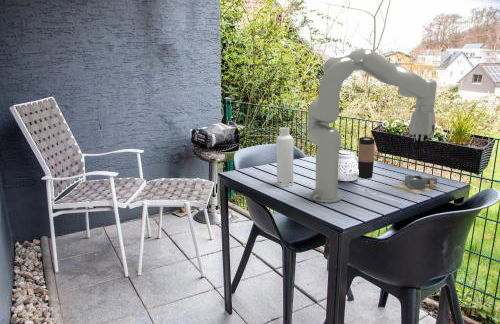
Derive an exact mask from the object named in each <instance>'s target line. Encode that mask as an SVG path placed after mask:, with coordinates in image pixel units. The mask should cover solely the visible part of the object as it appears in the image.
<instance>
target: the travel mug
mask: <svg viewBox="0 0 500 324" xmlns="http://www.w3.org/2000/svg"><path fill="white" fill-rule="evenodd" d="M375 141H376V139H375V138H372V137H369V136H364V137H359V138H358V151H357V152H358V153H357V155H358V156H357V157H358V158H357V166H358V167H357V170H358V169H359V177H358V179H359V178H360V179H372V178H373V177H374V176H373V174H374V164H375V163H374V162H375Z"/></svg>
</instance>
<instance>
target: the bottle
mask: <svg viewBox="0 0 500 324" xmlns="http://www.w3.org/2000/svg"><path fill="white" fill-rule="evenodd" d="M290 129H291V128H290V127H288V126H287V127H283V126H282V127H279V131H280V133H279V134H278V136H277V137H276V138H275V139H276V141H275V142H276V143H275V144H276V185H277V184H278V185H280V186H279V187H281V186H290V187H292V186H291V185H293V186H294V138H293V136H292V135H291V134H290ZM279 182H281V183H279ZM290 182H291V183H290ZM278 185H277V186H278Z"/></svg>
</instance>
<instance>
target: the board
mask: <svg viewBox="0 0 500 324" xmlns="http://www.w3.org/2000/svg"><path fill="white" fill-rule="evenodd" d="M429 186H430V185H429V184H426V186H425V189H409V188H407V187H406V186H405V182H403V183H400V184H397V185H394V186H393V185H392V186H390V188H392V189H395V190H399V191H402V192H406V193H409V194H413V195H418V194H422V193H426V192H429V191H431V190H435V189H436V187H434V186H433V189H430V188H429Z"/></svg>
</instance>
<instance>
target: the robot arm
mask: <svg viewBox="0 0 500 324" xmlns="http://www.w3.org/2000/svg"><path fill="white" fill-rule="evenodd" d="M322 71H323V72H324V73H323V76H322V77H321V79H320V82H319V86H318V97H317V98H316V99H314V100H313V101H312V102H311V103H310V105H309V107H308V111H307V137H308V140H309V141H310V142H311V143H312V144H314V145H316V146H317V149H316V154H315V188H313V191H312V192H308V193H306V196H307V198H309V199H310V198H312V201H313V200H314V201H315V202H318V203H323V202H325V203H324V204H331V203H332V202H333V203H337V202H339V201H341V200H342V195H341V194H340V193H339V191H338V190H339V158H340V157H339V155H340V148H341V144H342V136H341V133H340V132H339V131H338V129H337V128H335V127H333V126H330V125H329V124H334V123H335V122H336V121H337V120H338V118H339V117H340V96H341V95H340V93H341V88H342V85H343V83H344V82H345V81H346V80H347V79H348V78H349V77H351V75H352V74H353V73H354V72H355V71H362V72H364V73H366V74H367V75H369V76H371V77H373V78H374V79H376V80H377V81H379V83H383V84H384V85H385V84H386V85H389V86H394V87H397V91H398V93H399V94H400V96H403V97H405V98H414V99H416V100H415V104H414V105H413V108H414V110H413V111H412V114H411V117H410V121H409V130H408V131H409V133H410V135H411V136H414V138H415V140H416V150H421V151H423V150H424V148H425V146H426V145H425V144H426V141H427V140H428V139H432V138H434V134H435V132H436V131H435V130H436V113H435V102H436V95H437V87H438V86H437V84H438V83H437V81H436V80H432V79H431V80H429V79H428V80H427V79H424V78H423V77H422V76H420V75H419V74H417V73H415V72H413V71H411V70H408V69H406V68H402V67H401V66H399V65H396V64H394V63H392V62H390V61H389V60H388V59H386V58H385V57H383V56H382V55H380V54H379V53H377V52H375V51H374V50H372V49H356V50H355V49H354V50H352V51H350V52H346V53H343V54H339V55H336V56H333V57H329V58H328V59H326V61H325V62H324V64H323V66H322Z"/></svg>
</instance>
